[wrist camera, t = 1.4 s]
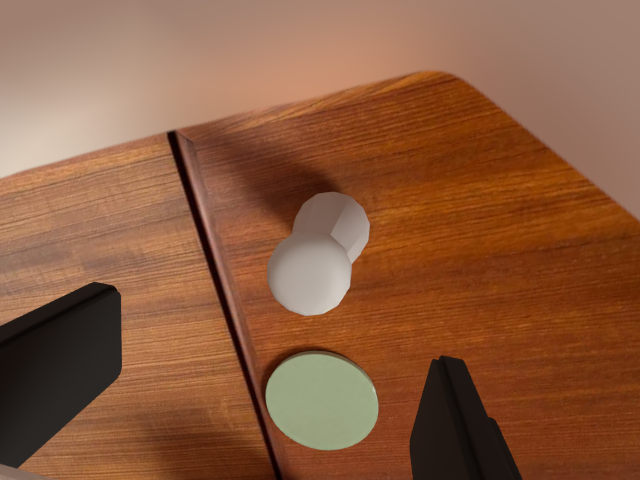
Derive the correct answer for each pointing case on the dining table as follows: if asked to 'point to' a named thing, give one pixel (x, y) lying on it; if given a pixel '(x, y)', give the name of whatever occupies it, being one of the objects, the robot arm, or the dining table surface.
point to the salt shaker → (318, 254)
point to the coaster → (322, 400)
